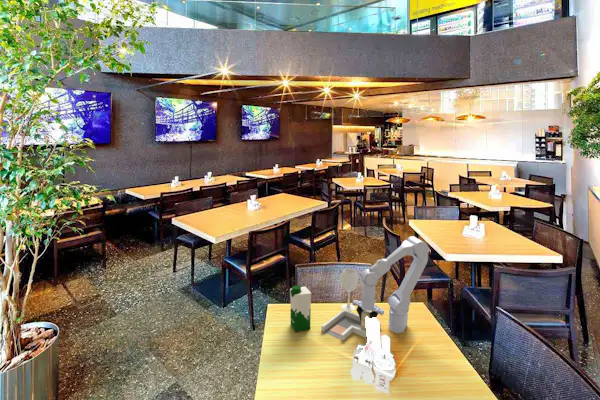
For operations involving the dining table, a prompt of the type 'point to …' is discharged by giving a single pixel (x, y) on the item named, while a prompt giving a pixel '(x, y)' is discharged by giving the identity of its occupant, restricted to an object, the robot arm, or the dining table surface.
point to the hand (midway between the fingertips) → (367, 324)
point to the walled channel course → (344, 325)
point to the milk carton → (300, 308)
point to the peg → (364, 314)
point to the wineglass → (349, 285)
